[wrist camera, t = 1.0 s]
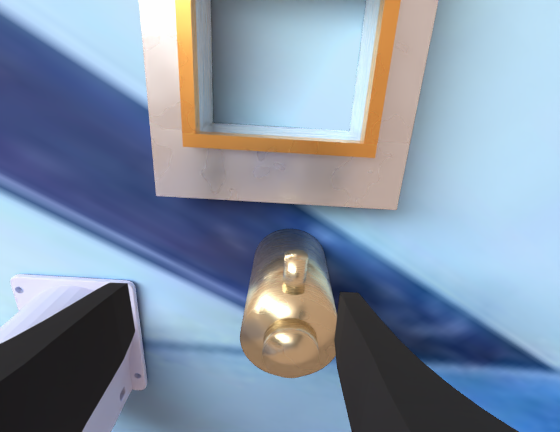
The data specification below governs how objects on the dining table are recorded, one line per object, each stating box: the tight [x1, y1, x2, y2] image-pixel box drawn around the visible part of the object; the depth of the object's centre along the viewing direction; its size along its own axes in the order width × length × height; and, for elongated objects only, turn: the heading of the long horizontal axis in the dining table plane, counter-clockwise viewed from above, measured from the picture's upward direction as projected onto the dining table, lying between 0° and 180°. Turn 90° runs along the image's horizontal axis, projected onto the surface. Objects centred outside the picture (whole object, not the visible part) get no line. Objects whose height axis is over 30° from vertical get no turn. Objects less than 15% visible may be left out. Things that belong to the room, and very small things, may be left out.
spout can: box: [240, 229, 337, 378], centre depth 18 cm, size 6×4×8 cm
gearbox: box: [139, 0, 438, 210], centre depth 15 cm, size 17×12×4 cm
